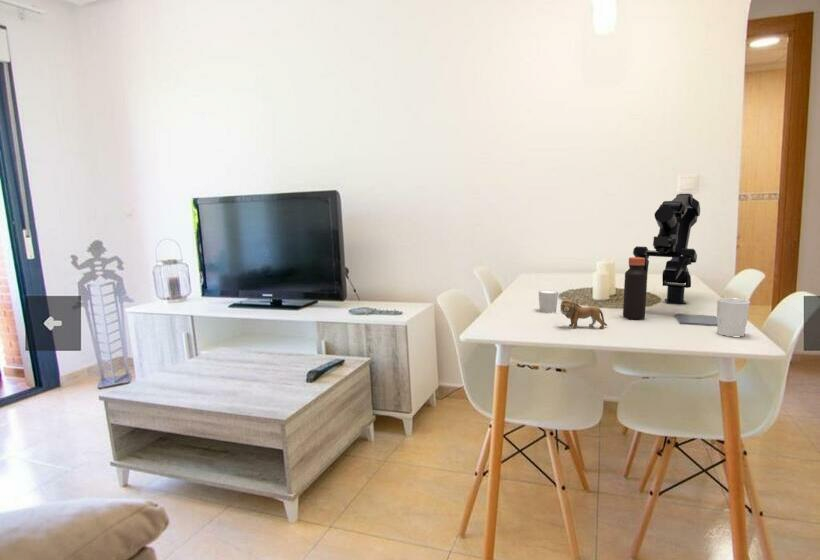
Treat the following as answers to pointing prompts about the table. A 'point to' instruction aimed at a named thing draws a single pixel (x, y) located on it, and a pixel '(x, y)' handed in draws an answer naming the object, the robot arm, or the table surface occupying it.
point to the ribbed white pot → (548, 301)
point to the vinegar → (635, 289)
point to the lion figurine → (581, 313)
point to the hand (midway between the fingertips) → (660, 277)
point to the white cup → (732, 316)
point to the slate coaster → (696, 319)
